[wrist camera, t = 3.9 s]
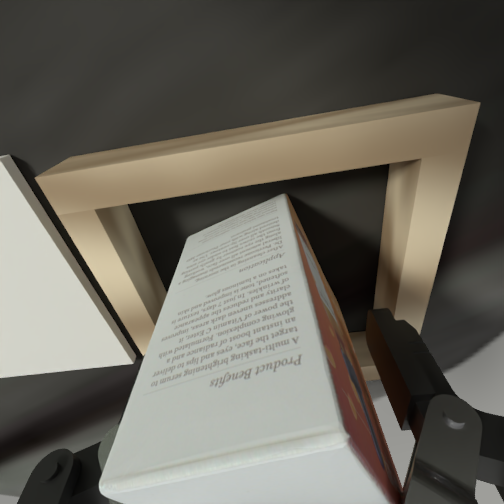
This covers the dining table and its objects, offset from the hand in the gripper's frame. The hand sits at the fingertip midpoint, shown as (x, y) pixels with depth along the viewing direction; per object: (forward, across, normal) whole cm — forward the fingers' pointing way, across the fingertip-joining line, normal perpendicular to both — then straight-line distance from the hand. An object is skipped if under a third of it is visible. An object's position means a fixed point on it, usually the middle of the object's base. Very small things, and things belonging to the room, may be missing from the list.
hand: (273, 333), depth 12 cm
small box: (+4, 0, 0) cm, 5 cm away
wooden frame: (+4, 0, 0) cm, 4 cm away
